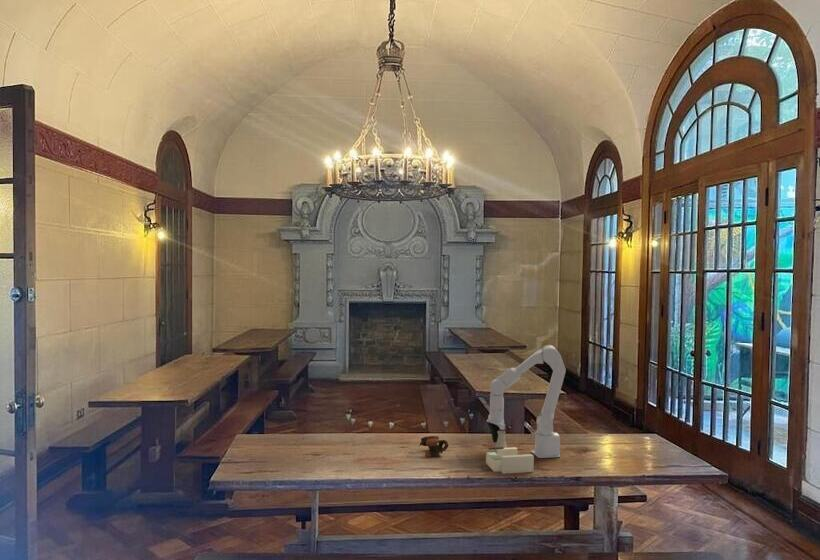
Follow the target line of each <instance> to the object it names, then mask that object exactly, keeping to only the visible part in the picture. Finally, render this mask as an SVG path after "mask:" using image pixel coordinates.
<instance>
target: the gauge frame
mask: <svg viewBox="0 0 820 560" xmlns="http://www.w3.org/2000/svg"><path fill="white" fill-rule="evenodd" d="M485 453H486V454H485V464H486V465H487V467H489V468H490V469H491V470H492V471H493V472H494V473H495V472H501V474H503V475H504V474H505V475H506V474H521V473H534V465H535V462H534V460H535V459H534V458H535V457H534V456H535V455H534V454H533V453H529V454H517V455H507V456H501V457H500V456H499V455H498V454H496V453H495V452H494V450H489V451H486V452H485Z"/></svg>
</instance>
